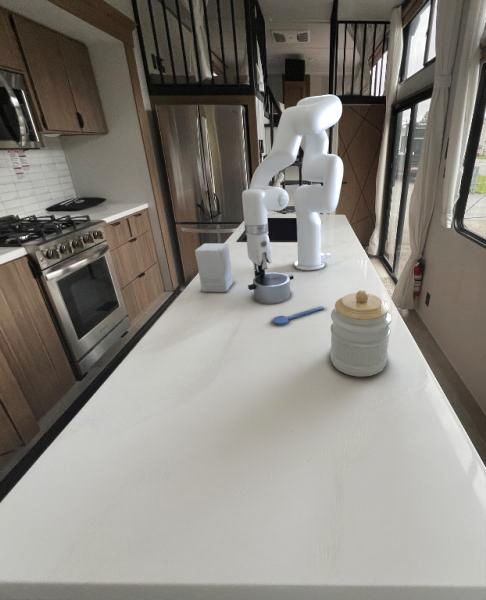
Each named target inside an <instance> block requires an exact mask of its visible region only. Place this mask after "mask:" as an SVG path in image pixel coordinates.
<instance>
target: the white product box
mask: <svg viewBox="0 0 486 600" xmlns="http://www.w3.org/2000/svg"><path fill="white" fill-rule="evenodd" d="M229 247H230V246H229V243H227V242H225V243H222V242H221V243H212V242H211V243H210V242H209V243H203V244H202V245H200V246H199V247H197V248H196V249H195V250H194V255H195V259H196V260H195V261H196V266H197V271H198V275H199V282H200V287H201V291H202V292H206V293H207V292H212V293H215V292H218V293H219V292H220V293H226V292H227V291H228V290H229V289H230V288H231V286H232V285H233V284H234V276H233V270H232V269H233V268H232V261H231V255H230V248H229Z"/></svg>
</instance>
